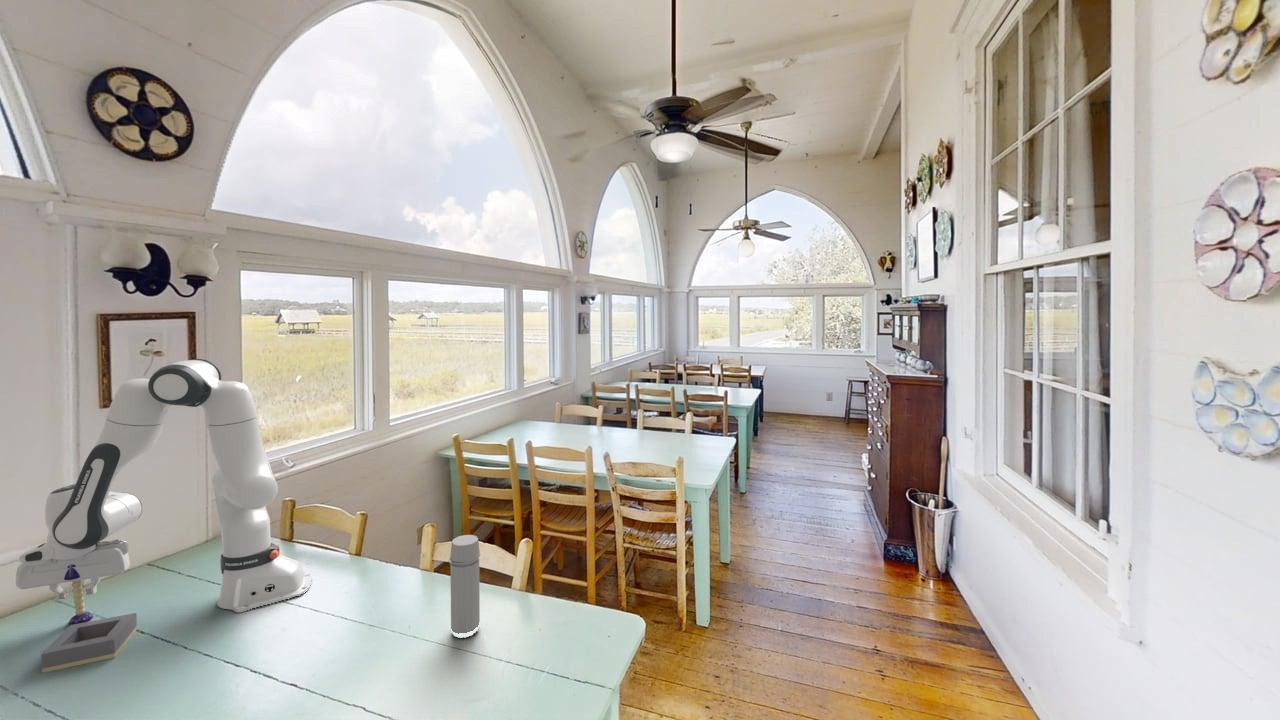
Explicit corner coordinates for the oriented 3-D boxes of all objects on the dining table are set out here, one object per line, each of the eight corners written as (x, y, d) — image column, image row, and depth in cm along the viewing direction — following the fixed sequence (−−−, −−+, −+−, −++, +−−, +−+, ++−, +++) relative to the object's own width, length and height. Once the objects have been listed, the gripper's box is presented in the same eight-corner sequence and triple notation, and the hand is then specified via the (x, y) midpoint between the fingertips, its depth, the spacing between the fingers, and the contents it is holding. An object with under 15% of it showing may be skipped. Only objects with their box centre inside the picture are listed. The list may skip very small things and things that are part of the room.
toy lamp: (73, 628, 128) (69, 566, 127) (60, 625, 129) (56, 564, 128) (97, 617, 133) (93, 557, 132) (84, 614, 134) (80, 555, 133)
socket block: (137, 629, 128) (136, 612, 128) (114, 657, 118) (113, 639, 118) (71, 642, 123) (70, 625, 123) (42, 672, 112) (41, 654, 112)
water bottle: (486, 630, 131) (486, 539, 129) (459, 645, 125) (458, 549, 123) (467, 616, 137) (466, 529, 135) (440, 630, 131) (439, 538, 129)
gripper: (132, 533, 137) (135, 581, 138) (25, 547, 128) (29, 598, 129) (122, 542, 132) (125, 592, 133) (9, 558, 122) (13, 611, 123)
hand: (77, 595), depth 131 cm, fingers closed on toy lamp, 4 cm apart
